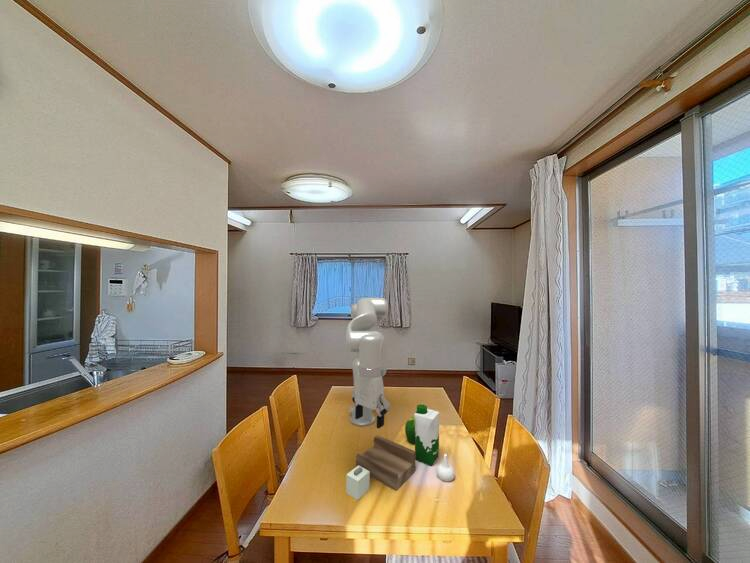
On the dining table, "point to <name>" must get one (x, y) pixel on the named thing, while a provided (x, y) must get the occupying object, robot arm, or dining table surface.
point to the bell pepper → (410, 430)
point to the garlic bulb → (445, 470)
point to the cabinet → (357, 482)
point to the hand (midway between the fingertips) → (369, 422)
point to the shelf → (388, 462)
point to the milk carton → (426, 435)
